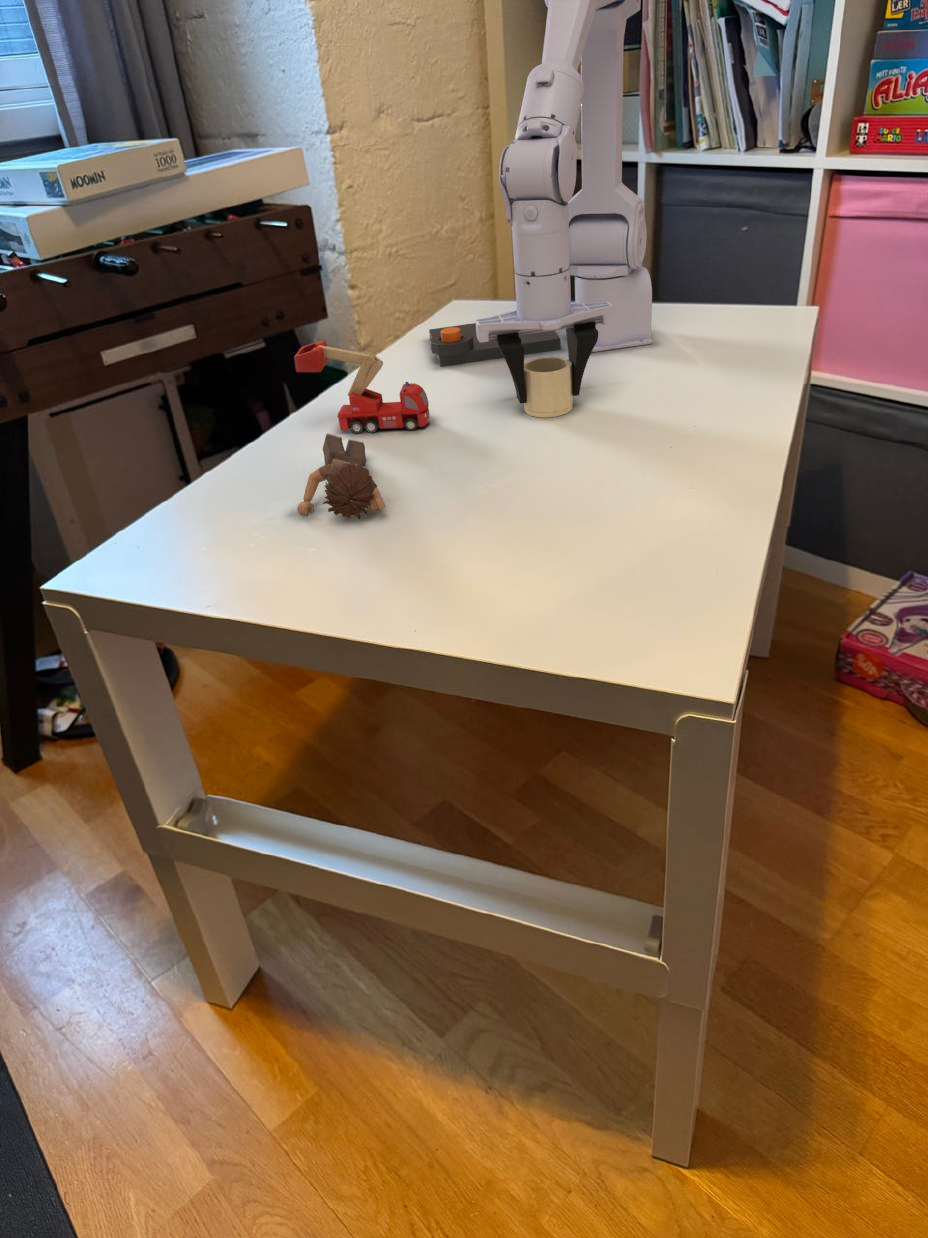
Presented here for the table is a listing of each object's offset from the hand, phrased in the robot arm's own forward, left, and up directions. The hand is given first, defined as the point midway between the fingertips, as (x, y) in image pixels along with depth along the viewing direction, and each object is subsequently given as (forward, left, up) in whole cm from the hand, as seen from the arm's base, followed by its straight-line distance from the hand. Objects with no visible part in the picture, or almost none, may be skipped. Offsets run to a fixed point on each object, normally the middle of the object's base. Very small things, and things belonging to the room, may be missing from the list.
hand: (547, 396), depth 98 cm
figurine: (+24, +14, -2) cm, 28 cm away
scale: (+2, -25, -1) cm, 25 cm away
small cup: (0, 0, -1) cm, 1 cm away
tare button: (+8, -21, +1) cm, 23 cm away
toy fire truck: (+20, -2, -2) cm, 20 cm away
